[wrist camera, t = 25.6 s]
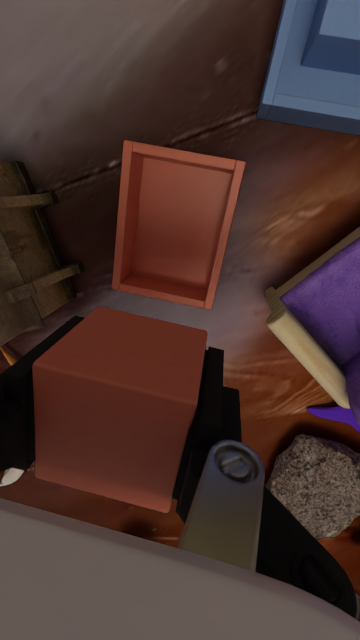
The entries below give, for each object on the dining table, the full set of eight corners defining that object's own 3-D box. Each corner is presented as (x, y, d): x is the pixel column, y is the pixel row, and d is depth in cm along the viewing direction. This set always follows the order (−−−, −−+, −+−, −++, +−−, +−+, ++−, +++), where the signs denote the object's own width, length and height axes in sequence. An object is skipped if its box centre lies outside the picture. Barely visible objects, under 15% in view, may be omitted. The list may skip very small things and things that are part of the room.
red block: (92, 394, 12) (34, 478, 9) (98, 304, 11) (30, 362, 7) (186, 417, 12) (168, 515, 8) (208, 330, 10) (197, 403, 7)
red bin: (125, 277, 26) (111, 288, 23) (138, 147, 22) (123, 139, 19) (213, 296, 25) (211, 310, 22) (243, 166, 21) (246, 161, 18)
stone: (325, 514, 34) (335, 552, 30) (250, 489, 34) (252, 525, 30) (383, 448, 28) (403, 486, 25) (293, 420, 28) (301, 453, 25)
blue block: (323, -23, 17) (350, -83, 13) (396, -12, 17) (444, -71, 13) (300, 66, 18) (318, 34, 15) (365, 76, 18) (400, 46, 14)
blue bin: (256, 118, 20) (261, 103, 17) (306, -99, 16) (326, -171, 13) (372, 138, 20) (401, 126, 16) (455, -80, 16) (513, -151, 12)
